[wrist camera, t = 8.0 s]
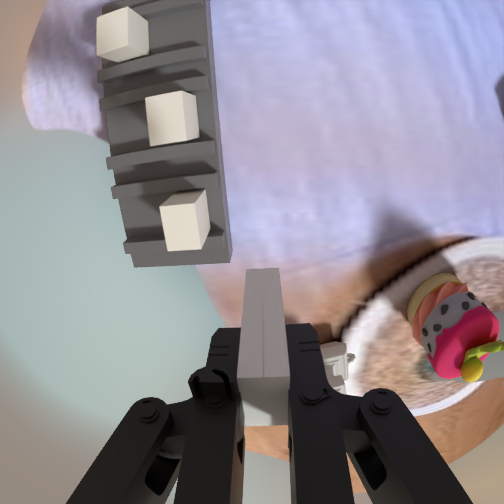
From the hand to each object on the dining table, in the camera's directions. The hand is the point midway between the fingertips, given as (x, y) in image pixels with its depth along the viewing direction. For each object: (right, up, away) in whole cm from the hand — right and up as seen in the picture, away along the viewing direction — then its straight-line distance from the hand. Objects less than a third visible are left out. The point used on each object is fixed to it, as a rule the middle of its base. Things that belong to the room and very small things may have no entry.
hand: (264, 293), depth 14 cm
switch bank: (-9, +15, +14) cm, 23 cm away
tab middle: (-7, +14, +10) cm, 19 cm away
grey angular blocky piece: (+9, -13, +26) cm, 31 cm away
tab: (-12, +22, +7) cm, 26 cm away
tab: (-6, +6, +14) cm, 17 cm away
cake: (+26, -5, +22) cm, 35 cm away
